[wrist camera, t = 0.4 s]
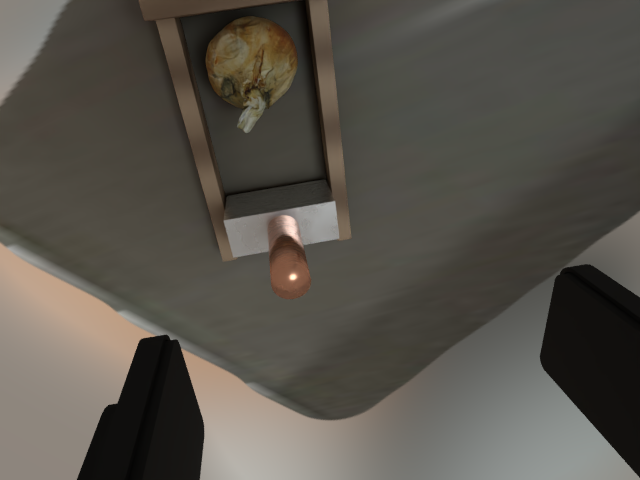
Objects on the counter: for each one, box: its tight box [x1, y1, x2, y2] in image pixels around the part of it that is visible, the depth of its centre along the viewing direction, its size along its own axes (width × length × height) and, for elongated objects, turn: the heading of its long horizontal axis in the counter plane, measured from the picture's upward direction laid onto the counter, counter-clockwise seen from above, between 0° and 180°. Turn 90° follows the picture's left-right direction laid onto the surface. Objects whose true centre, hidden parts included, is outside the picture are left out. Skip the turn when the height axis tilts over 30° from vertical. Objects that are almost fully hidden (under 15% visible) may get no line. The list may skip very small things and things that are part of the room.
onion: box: [206, 16, 298, 133], centre depth 35 cm, size 8×8×8 cm
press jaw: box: [223, 179, 339, 299], centre depth 38 cm, size 4×10×15 cm, turn 97°
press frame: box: [138, 0, 351, 262], centre depth 39 cm, size 25×14×7 cm, turn 7°
